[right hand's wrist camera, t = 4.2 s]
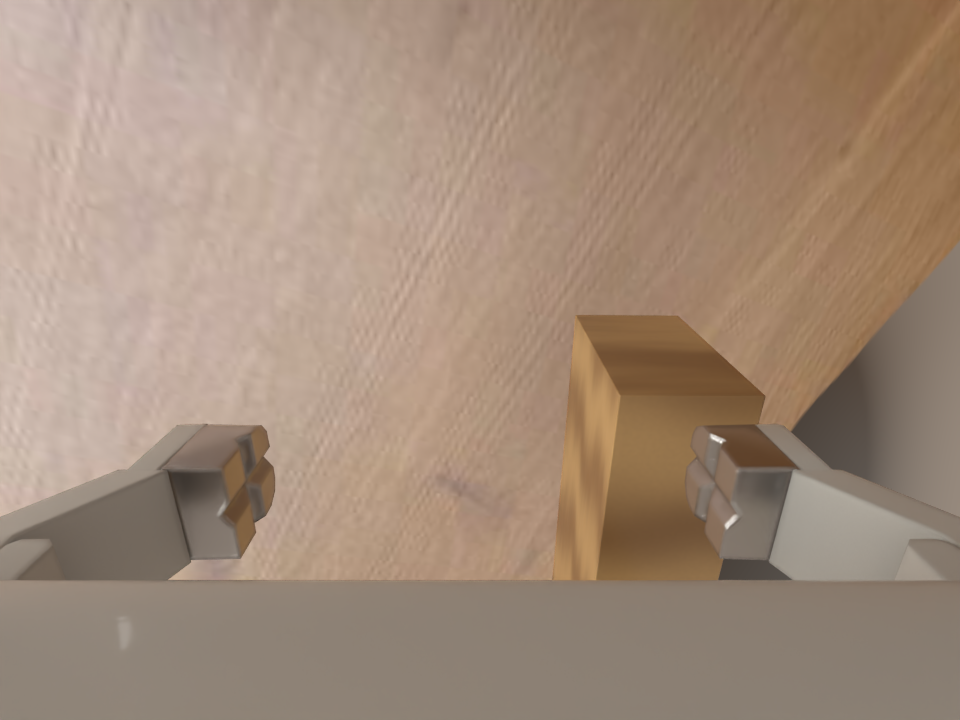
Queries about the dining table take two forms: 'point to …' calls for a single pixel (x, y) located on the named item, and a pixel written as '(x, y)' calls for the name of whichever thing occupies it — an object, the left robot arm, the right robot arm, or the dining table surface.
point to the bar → (640, 448)
